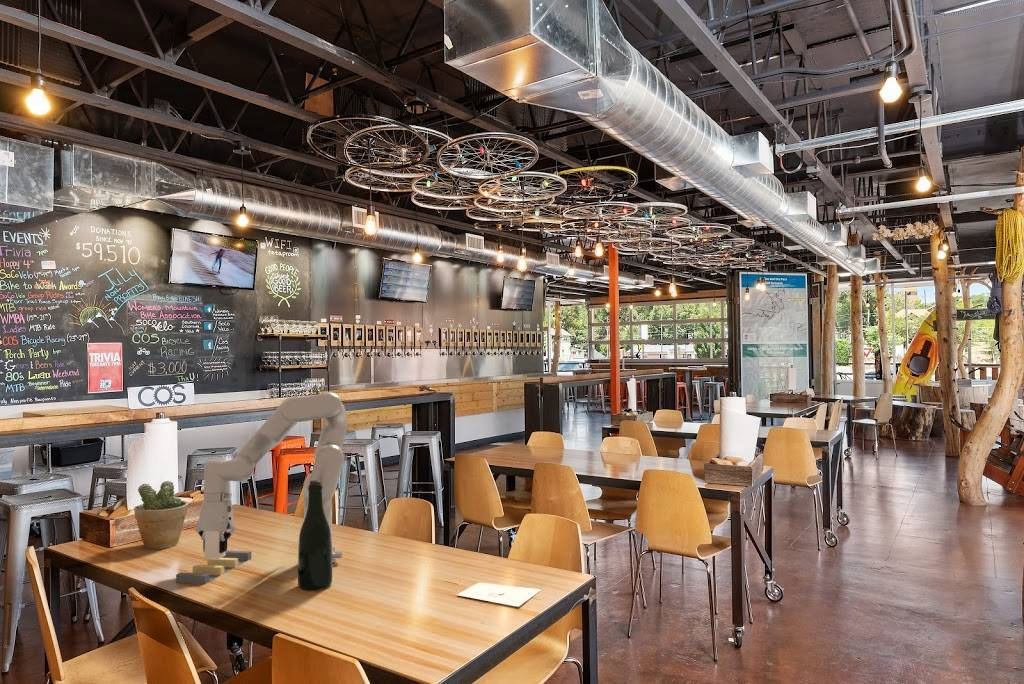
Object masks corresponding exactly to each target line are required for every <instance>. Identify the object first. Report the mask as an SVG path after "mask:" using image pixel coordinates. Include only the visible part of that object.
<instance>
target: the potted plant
mask: <svg viewBox="0 0 1024 684" xmlns="http://www.w3.org/2000/svg"><path fill="white" fill-rule="evenodd" d="M159 488H160V489H159V490H158V492H157V491H156V490H155V489H154V488H152V486H151V485H150V483H142V484H140V485H139V486H138V489H137V491H138V494H139V496H140V498H141V501H142V502H143V503H141V504H138V505H136V506H135V507H134V508H133V510H134V518H135V520H136V524H137V528H138V532H139V534H140V537H141V541H142V543H143V546H144V548H145V549H147V550H153V551H154V550H163V549H168V548H172V547H175V546H176V545H177V544H179V541H180V538H181V534H182V531H183V527H184V522H185V518H186V516H187V514H188V508H189V507H188V506H189V502H188V501H185V500H182V499H181V498H179V497H178V496H175V485H174V482H172V481H171V480H164V481H163V482H161V484H160V487H159Z"/></svg>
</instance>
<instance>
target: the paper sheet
mask: <svg viewBox="0 0 1024 684" xmlns="http://www.w3.org/2000/svg"><path fill="white" fill-rule="evenodd" d="M540 591H542V589H539V588H531V587H523V586H513V585H503V584H495V583H487V582H477V583H475V584H473V585H471V586H470V587H468V588H466V589H464V590H463V591H461V592H459V593H457V594H456V596H460V597H466V598H471V599H476V600H481V601H486V602H487V601H488V602H491V603H497V604H502V605H506V606H512V607H520V606H522V605H523V604H525V603H527V601H528V600H529V599H531V598H533V596H535V595H536V594H538V593H539V592H540Z"/></svg>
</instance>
